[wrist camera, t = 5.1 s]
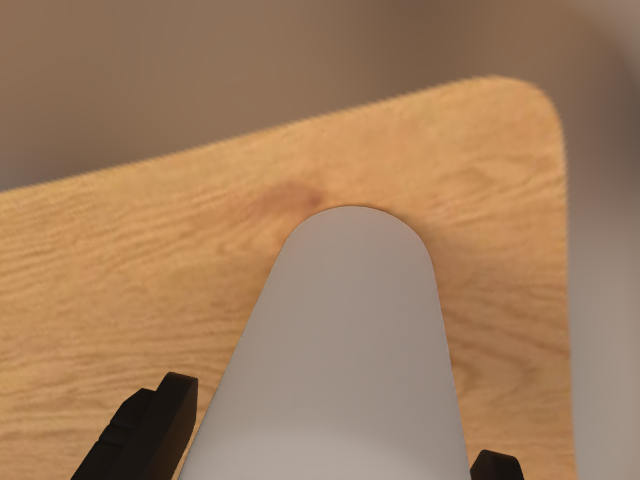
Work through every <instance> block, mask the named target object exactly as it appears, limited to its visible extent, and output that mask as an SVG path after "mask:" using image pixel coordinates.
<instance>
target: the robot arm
mask: <svg viewBox="0 0 640 480" xmlns="http://www.w3.org/2000/svg"><path fill="white" fill-rule="evenodd" d="M197 396H198V379H197V378H194V377H190V376H186V375H182V374H178V373H174V372H168V373H167V374H166V376H165V377H164V378H163V380H162V382H161V383H160V385H159V387H158V388H157V390H156V391H153V390H149V389H145V388H141V389H140V390H139V391H137V392H136V393H135V394H133V395H132V396H131V397H129V398H128V399H127V400H125V401H124V402H123V403H122V405H121V406H120V408H119V409H118V410H117V412H116V413H115V415H114V416H113V418H112V419H111V421H110V424H109V425H107V427H106V428H105V430H104V431H103V432H102V434H101V435H100V437H99V440H98V441H96V443H95V444H94V446H93V447H92V449H91V450H90V451H89V453H88V454H87V456H86V457H85V459H84V460H83V462H82V463H81V465H80V466H79V468H78V469H77V471H76V472H75V473H74V475H73V476H72V478H71V479H70V480H171V478H172V476H173V474H174V472H175V470H176V468H177V465H178V463H179V461H180V459H181V457H182V455H183V453H184V450H185V448H186V446H187V444H188V442H189V440H190V437H191V434H192V432H193V428H194V425H195V421H196V413H197ZM470 475H471V480H524V477H523V474H522V470H521V467H520V464H519V462H518V460H517V459H516V458H515V457H513V456H510V455H506V454H501V453H497V452H493V451H489V450H482V451H481V452H480V454H479V455H478V457H477V459H476V461H475V462H474V464H473V466H472V467H471V469H470Z"/></svg>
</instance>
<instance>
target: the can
mask: <svg viewBox="0 0 640 480" xmlns="http://www.w3.org/2000/svg"><path fill="white" fill-rule="evenodd" d="M178 480H471V475H470V469H469V463H468V457H467V452H466V446H465V440H464V434H463V429H462V423H461V417H460V412H459V406H458V400H457V395H456V389H455V383H454V378H453V372H452V367H451V361H450V355H449V350H448V344H447V339H446V333H445V328H444V322H443V317H442V311H441V306H440V300H439V295H438V290H437V284H436V279H435V274H434V269H433V265H432V261H431V258H430V255H429V253H428V250H427V248H426V246H425V245H424V243H423V241H422V240H421V239H420V237H419V236H418V235H417V234H416V233H415V232H414V231H413V230H412V229H411V228H410V227H409V226H408V225H407V224H405V223H404V222H403V221H401V220H399V219H398V218H396V217H394V216H392V215H390V214H388V213H386V212H383V211H380V210H377V209H373V208H368V207H361V206H343V207H336V208H331V209H327V210H324V211H321V212H319V213H317V214H315V215H313V216H311V217H309V218H307V219H306V220H304V221H303V222H302V223H301V224H299V225H298V226H297V227H296V228H295V229H294V230H293V231H292V233H291V234H290V235H289V237H288V238H287V240H286V241H285V243H284V245H283V247H282V249H281V251H280V253H279V255H278V257H277V259H276V261H275V263H274V265H273V267H272V269H271V272H270V274H269V276H268V278H267V280H266V282H265V285H264V287H263V289H262V291H261V293H260V295H259V298H258V300H257V302H256V304H255V306H254V308H253V311H252V313H251V315H250V317H249V319H248V321H247V324H246V326H245V328H244V330H243V332H242V335H241V337H240V339H239V341H238V343H237V346H236V348H235V350H234V352H233V354H232V357H231V359H230V361H229V363H228V365H227V368H226V370H225V372H224V374H223V376H222V379H221V381H220V383H219V385H218V387H217V390H216V392H215V394H214V396H213V398H212V401H211V403H210V405H209V407H208V410H207V412H206V414H205V416H204V418H203V421H202V423H201V425H200V427H199V430H198V432H197V434H196V436H195V439H194V441H193V443H192V445H191V448H190V450H189V453H188V455H187V457H186V460H185V462H184V464H183V467H182V469H181V472H180V475H179V478H178Z"/></svg>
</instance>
